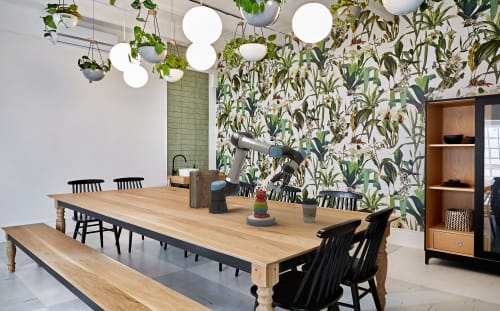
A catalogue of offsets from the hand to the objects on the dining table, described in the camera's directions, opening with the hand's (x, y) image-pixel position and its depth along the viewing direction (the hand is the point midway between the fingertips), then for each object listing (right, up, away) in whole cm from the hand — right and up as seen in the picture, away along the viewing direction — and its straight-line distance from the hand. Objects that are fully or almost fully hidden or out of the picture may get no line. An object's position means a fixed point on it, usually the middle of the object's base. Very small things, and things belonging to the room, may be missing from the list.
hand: (271, 191), depth 233 cm
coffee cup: (+26, -21, +3) cm, 33 cm away
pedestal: (-7, -21, -2) cm, 22 cm away
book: (-53, -19, +63) cm, 84 cm away
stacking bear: (-7, -17, -2) cm, 19 cm away
